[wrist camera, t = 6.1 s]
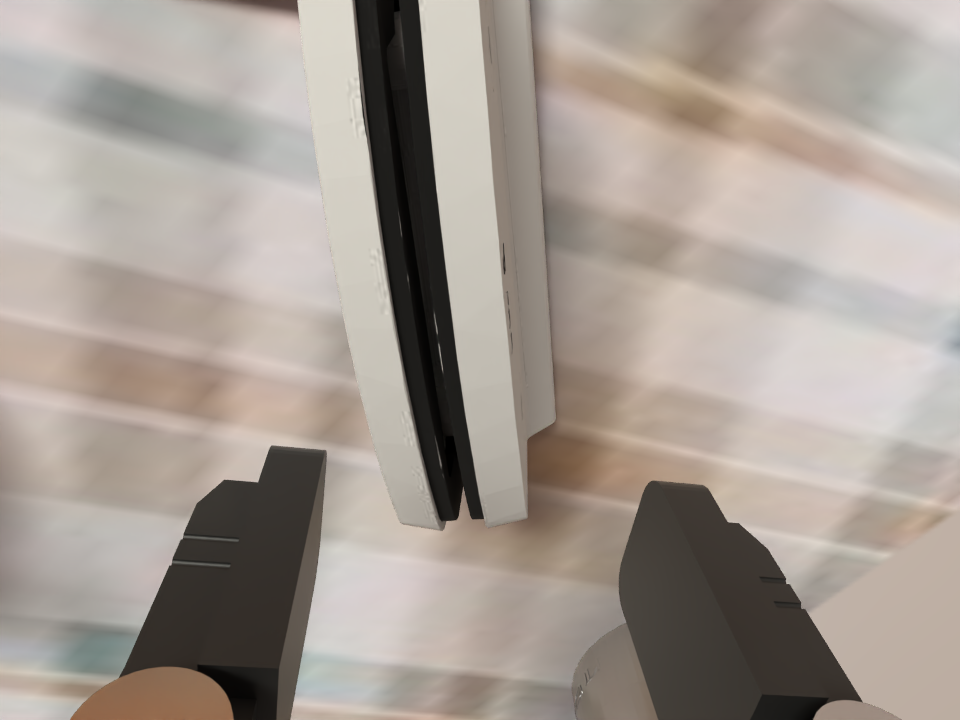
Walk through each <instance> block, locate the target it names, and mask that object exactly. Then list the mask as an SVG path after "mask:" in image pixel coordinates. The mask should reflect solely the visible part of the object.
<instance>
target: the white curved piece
mask: <svg viewBox="0 0 960 720" xmlns="http://www.w3.org/2000/svg"><path fill="white" fill-rule="evenodd" d="M297 1H298V11H299V21H300V31H301V41H302V50H303V60H304V68H305V77H306V85H307V93H308V101H309V109H310V118H311V126H312V133H313V139H314V146H315V153H316V159H317V166H318V173H319V179H320V186H321V192H322V199H323V206H324V212H325V219H326V226H327V232H328V239H329V244H330V249H331V255H332V260H333V265H334V271H335V276H336V281H337V286H338V292H339V297H340V302H341V308H342V313H343V318H344V324H345V329H346V333H347V338H348V342H349V347H350V352H351V356H352V361H353V365H354V370H355V375H356V379H357V383H358V387H359V391H360V395H361V399H362V403H363V406H364V410H365V414H366V418H367V422H368V426H369V430H370V434H371V437H372V441H373V445H374V448H375V452H376V455H377V458H378V462H379V465H380V469H381V472H382V475H383V478H384V481H385V484H386V486H387V489H388V492H389V495H390V498H391V501H392V503H393V506H394V509H395V511H396V514H397V516H398V519H399V521H400V523H402V524H404V525H410V526H416V527H422V528H428V529H434V530H440V531H443V529H444V528H445V524H446V521H453V520H457V518H458V517H459V510H460V503H461V497H462V490H463V486H464V491H465V495H466V499H467V504H468V508H469V512H470V516H471V518H472V519H484V520H485V525H486V527H488V528H491V527H495V526H499V525H503V524H508V523H512V522H516V521H520V520H524V519H527V518H528V482H527V440H528V438H529V437H530V436H532V435H534V434H536V433H537V432H539V431H541V430H542V429H544V428H546V427H547V426H549V425H551V424H553V423H554V422H555V420H556V411H555V396H554V380H553V364H552V348H551V332H550V316H549V300H548V285H547V269H546V253H545V237H544V221H543V205H542V189H541V174H540V158H539V142H538V126H537V110H536V94H535V78H534V63H533V47H532V31H531V15H530V0H297Z"/></svg>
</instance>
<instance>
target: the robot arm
mask: <svg viewBox="0 0 960 720" xmlns="http://www.w3.org/2000/svg"><path fill="white" fill-rule="evenodd" d="M326 458H327V452H326V450H316V449H305V448H294V447H283V446H271V447H270V449H269V452H268V455H267V457H266V460H265V463H264V466H263V469H262V472H261V475H260V478H259V481H258V483H257V482H245V481H233V480H224V481H223V482H221V483H220V484H219V485H218V486H217V487H216V488H215V489H213V490H212V491H211V492H210V493H209V494H208V495H206V496H205V497H204V498H203V499H202V500H201V501H199V502H198V503H197V505H196V507H195V509H194V511H193V514H192V516H191V518H190V520H189V523H188V525H187V527H186V529H185V532H184V536H183V540H181V541H180V543H179V545H178V548H177V550H176V552H175V554H174V557H173V560H172V565H171V566H169V568H168V570H167V573H166V575H165V577H164V579H163V582H162V584H161V586H160V588H159V591H158V593H157V595H156V597H155V600H154V602H153V604H152V607H151V609H150V611H149V613H148V616H147V618H146V620H145V622H144V625H143V627H142V629H141V631H140V634H139V636H138V638H137V641H136V643H135V645H134V647H133V650H132V652H131V654H130V656H129V659H128V661H127V663H126V665H125V667H124V669H123V671H122V673H121V675H120V677H119V678H118V679H117V680H115V681H113V682H111V683H109V684H107V685H106V686H104V687H103V688H101V689H100V690H98V691H97V692H95V693H94V694H93V695H92V696H91V697H90V698H88V699H87V700H86V701H85V702H84V703H83V704H82V705H81V706H80V707H79V709H78V710H77V711H76V712H75V713H74V714H73V716H72V717H71V719H70V720H290V718H291V712H292V707H293V701H294V696H295V690H296V685H297V679H298V674H299V668H300V663H301V657H302V652H303V646H304V641H305V635H306V630H307V624H308V619H309V613H310V608H311V602H312V597H313V591H314V585H315V579H316V573H317V565H318V557H319V548H320V538H321V525H322V512H323V499H324V486H325V473H326ZM619 595H620V602H621V607H622V610H623V613H624V616H625V619H626V622H627V623H625V624H623V625H620V626H619V627H617V628H615V629H614V630H612V631H611V632H609V633H607V634H606V635H604V636H603V637H602V638H600V639H599V640H598V641H597V642H596V643H595V644H594V645H592V646H591V647H590V648H589V650H588V651H587V652H586V653H585V655H584V656H583V657H582V659H581V660H580V662H579V664H578V666H577V668H576V671H575V673H574V676H573V682H572V694H573V700H574V706H575V714H576V719H577V720H901V719H899V718H898V717H896V716H894V715H893V714H891V713H889V712H887V711H885V710H883V709H881V708H878V707H875V706H873V705H870V704H867V703H863V702H862V700H861V698H860V697H859V695H858V694H857V692H856V690H855V689H854V687H853V686H852V684H851V682H850V681H849V679H848V678H847V676H846V674H845V673H844V671H843V670H842V668H841V666H840V665H839V663H838V661H837V660H836V658H835V657H834V655H833V653H832V652H831V650H830V649H829V647H828V645H827V644H826V642H825V640H824V639H823V637H822V636H821V634H820V632H819V631H818V629H817V628H816V626H815V624H814V623H813V621H812V620H811V618H810V616H809V615H808V613H807V611H806V610H805V609H801V602H800V600H799V599H798V597H797V595H796V594H795V592H794V591H793V589H792V587H791V586H790V584H786V578H785V576H784V574H783V573H782V571H781V570H780V568H779V566H778V565H777V563H776V562H775V560H774V558H773V557H772V555H771V554H770V552H769V550H768V549H767V548H766V547H765V546H764V545H762V544H761V543H760V542H759V541H758V540H757V539H756V538H755V537H753V536H752V535H751V534H750V533H749V532H748V531H747V530H746V529H744V528H743V527H742V526H741V525H740V524H739V523H728V522H727V520H726V519H725V517H724V515H723V513H722V512H721V510H720V508H719V506H718V505H717V503H716V501H715V500H714V498H713V496H712V494H711V493H710V491H709V490H708V488H706V487H705V486H703V485H697V484H685V483H674V482H663V481H651V482H650V483H648V485H647V486H646V488H645V490H644V492H643V495H642V498H641V501H640V505H639V508H638V511H637V514H636V517H635V520H634V524H633V527H632V530H631V533H630V536H629V540H628V543H627V546H626V549H625V552H624V555H623V559H622V562H621V567H620V573H619Z"/></svg>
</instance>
